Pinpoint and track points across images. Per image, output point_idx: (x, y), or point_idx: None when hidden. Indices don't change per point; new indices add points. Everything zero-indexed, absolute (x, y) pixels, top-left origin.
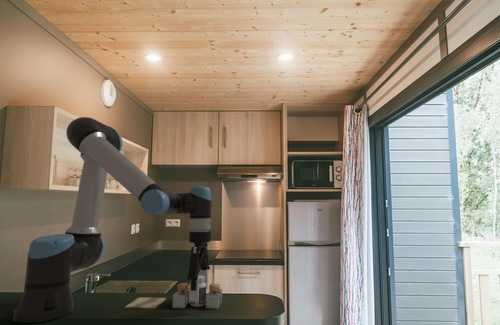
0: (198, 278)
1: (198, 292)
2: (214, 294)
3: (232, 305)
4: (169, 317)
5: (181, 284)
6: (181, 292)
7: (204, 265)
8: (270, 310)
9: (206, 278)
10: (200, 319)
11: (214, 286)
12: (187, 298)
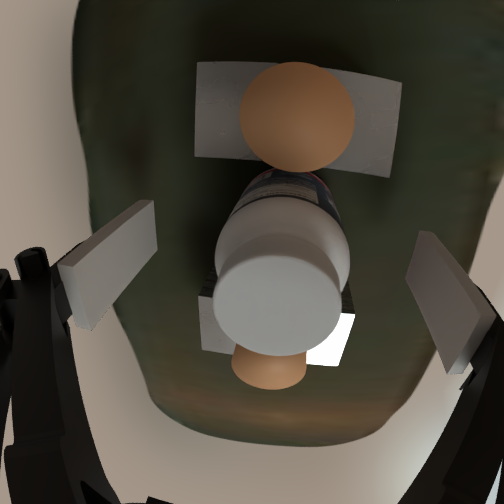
0: (215, 312)
1: (136, 273)
2: (222, 335)
3: None
4: (91, 112)
5: (292, 102)
6: None
7: (462, 400)
8: (217, 425)
9: (429, 321)
10: None
11: (233, 365)
12: None
